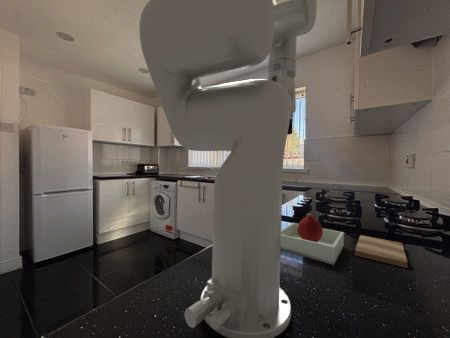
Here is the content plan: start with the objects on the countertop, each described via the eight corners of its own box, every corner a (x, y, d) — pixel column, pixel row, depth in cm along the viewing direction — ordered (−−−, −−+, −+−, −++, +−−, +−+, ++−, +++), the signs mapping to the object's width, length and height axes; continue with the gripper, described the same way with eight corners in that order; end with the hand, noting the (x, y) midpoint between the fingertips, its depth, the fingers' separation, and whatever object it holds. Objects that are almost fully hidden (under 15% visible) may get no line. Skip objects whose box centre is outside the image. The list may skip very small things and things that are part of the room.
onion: (317, 241, 53) (317, 211, 53) (326, 250, 47) (327, 216, 47) (294, 240, 53) (295, 210, 53) (301, 248, 48) (301, 215, 48)
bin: (333, 264, 41) (334, 247, 41) (274, 247, 49) (274, 233, 49) (343, 246, 52) (343, 232, 52) (292, 234, 60) (293, 222, 60)
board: (407, 268, 41) (407, 262, 41) (354, 255, 46) (355, 250, 46) (401, 247, 52) (402, 243, 52) (360, 239, 57) (360, 235, 57)
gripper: (282, 53, 48) (280, 124, 48) (304, 79, 61) (303, 135, 61) (255, 63, 52) (253, 128, 52) (281, 85, 66) (279, 137, 66)
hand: (280, 131), depth 57 cm, fingers open, 9 cm apart
